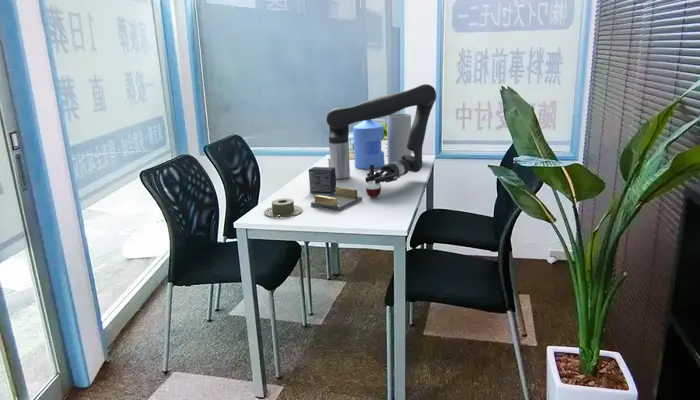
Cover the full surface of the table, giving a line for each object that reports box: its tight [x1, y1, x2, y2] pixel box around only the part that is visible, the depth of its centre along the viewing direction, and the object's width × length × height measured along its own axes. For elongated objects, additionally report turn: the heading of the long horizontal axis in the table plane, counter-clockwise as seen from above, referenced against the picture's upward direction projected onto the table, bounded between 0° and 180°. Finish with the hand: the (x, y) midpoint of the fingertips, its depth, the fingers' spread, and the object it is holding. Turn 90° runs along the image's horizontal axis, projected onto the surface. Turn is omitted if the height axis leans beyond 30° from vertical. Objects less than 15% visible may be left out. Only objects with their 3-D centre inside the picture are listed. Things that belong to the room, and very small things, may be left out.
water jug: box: [352, 119, 385, 170], centre depth 276 cm, size 16×16×28 cm
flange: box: [263, 198, 304, 219], centre depth 209 cm, size 5×15×15 cm
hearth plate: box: [310, 186, 363, 211], centre depth 217 cm, size 14×16×4 cm
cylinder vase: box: [386, 113, 412, 164], centre depth 282 cm, size 12×12×25 cm
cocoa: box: [365, 165, 382, 198], centre depth 222 cm, size 10×6×12 cm, turn 157°
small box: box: [308, 166, 337, 195], centre depth 235 cm, size 11×6×10 cm, turn 71°
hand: (371, 180), depth 219 cm, fingers closed on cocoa, 4 cm apart
